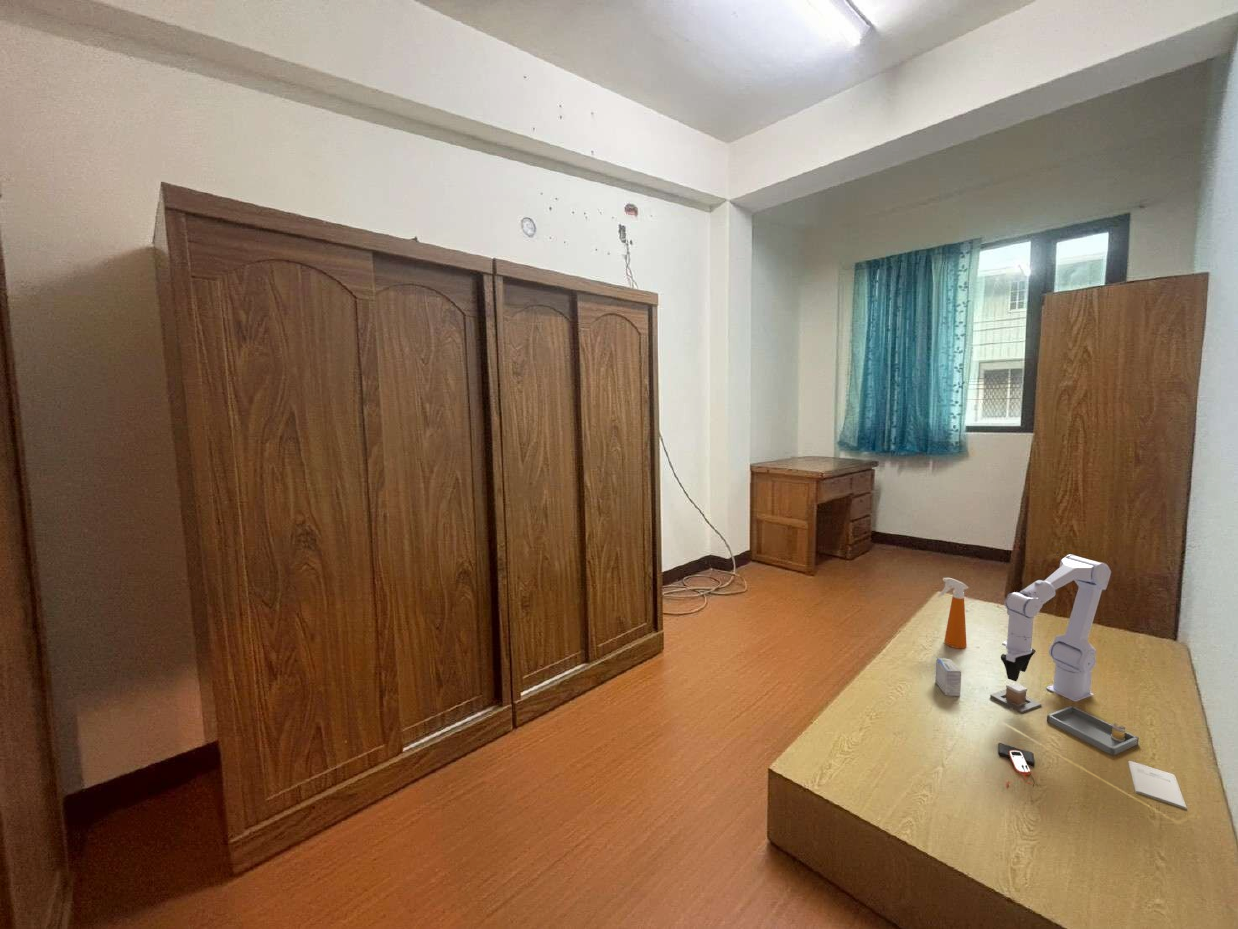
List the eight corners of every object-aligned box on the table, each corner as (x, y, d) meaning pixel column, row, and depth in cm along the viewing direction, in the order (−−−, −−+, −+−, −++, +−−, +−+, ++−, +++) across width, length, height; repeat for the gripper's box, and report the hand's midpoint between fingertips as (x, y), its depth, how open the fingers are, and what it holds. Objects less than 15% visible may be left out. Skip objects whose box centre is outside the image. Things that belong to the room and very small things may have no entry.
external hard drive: (1135, 796, 119) (1127, 765, 129) (1186, 813, 114) (1174, 780, 124) (1136, 790, 119) (1128, 759, 129) (1187, 807, 114) (1175, 774, 124)
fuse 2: (1114, 735, 138) (1115, 722, 138) (1126, 741, 136) (1128, 727, 135) (1108, 737, 138) (1110, 724, 137) (1120, 743, 135) (1122, 730, 135)
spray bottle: (930, 638, 195) (934, 574, 191) (960, 639, 193) (964, 574, 189) (939, 648, 188) (943, 581, 184) (970, 649, 186) (975, 581, 182)
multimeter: (1057, 811, 116) (1058, 797, 116) (992, 786, 124) (993, 773, 123) (1056, 766, 130) (1057, 754, 129) (998, 746, 137) (999, 735, 137)
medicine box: (960, 697, 158) (962, 671, 157) (944, 695, 159) (946, 670, 158) (949, 682, 166) (951, 658, 165) (934, 681, 167) (936, 657, 166)
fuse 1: (1012, 698, 157) (1014, 682, 156) (1025, 705, 153) (1027, 688, 153) (1004, 701, 156) (1006, 684, 155) (1017, 707, 152) (1019, 691, 151)
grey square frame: (1009, 691, 160) (1009, 688, 160) (1041, 707, 152) (1041, 704, 152) (990, 698, 157) (990, 694, 157) (1021, 715, 149) (1021, 711, 149)
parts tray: (1071, 713, 149) (1071, 705, 149) (1137, 746, 135) (1138, 737, 135) (1046, 722, 145) (1047, 715, 145) (1112, 757, 131) (1113, 749, 131)
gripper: (1011, 621, 157) (1008, 661, 159) (995, 635, 149) (992, 678, 151) (1040, 629, 152) (1036, 670, 154) (1024, 644, 143) (1021, 688, 145)
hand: (1016, 675), depth 152 cm, fingers open, 7 cm apart
